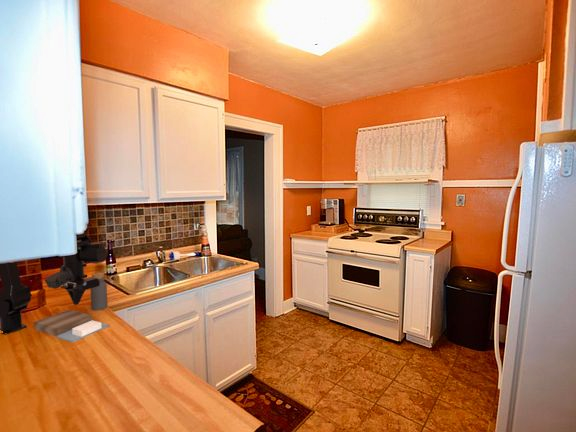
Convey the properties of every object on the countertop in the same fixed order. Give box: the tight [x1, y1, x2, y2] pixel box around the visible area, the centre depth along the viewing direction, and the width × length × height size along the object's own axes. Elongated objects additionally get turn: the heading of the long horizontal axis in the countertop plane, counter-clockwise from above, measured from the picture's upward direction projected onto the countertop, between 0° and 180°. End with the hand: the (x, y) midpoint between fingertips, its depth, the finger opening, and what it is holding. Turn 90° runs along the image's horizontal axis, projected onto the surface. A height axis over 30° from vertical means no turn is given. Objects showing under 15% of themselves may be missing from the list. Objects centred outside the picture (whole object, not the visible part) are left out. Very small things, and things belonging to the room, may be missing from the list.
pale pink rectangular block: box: [72, 320, 102, 337], centre depth 105 cm, size 5×7×2 cm
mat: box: [56, 320, 110, 343], centre depth 106 cm, size 8×13×1 cm, turn 158°
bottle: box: [90, 272, 108, 311], centre depth 127 cm, size 6×6×15 cm
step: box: [33, 309, 93, 337], centre depth 110 cm, size 14×12×3 cm
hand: (76, 304), depth 106 cm, fingers closed
